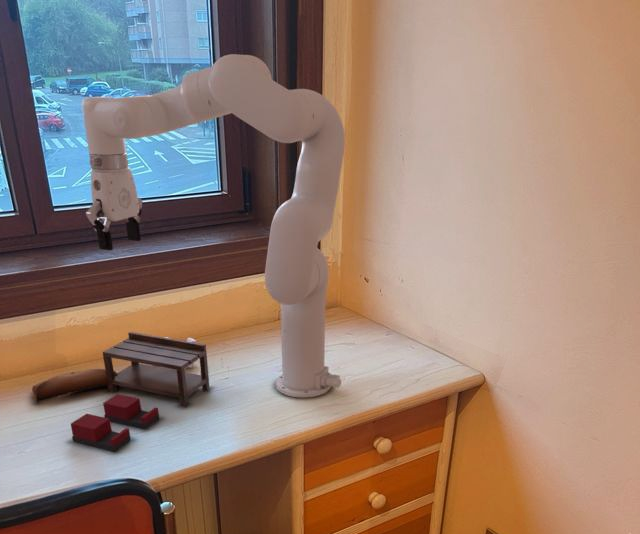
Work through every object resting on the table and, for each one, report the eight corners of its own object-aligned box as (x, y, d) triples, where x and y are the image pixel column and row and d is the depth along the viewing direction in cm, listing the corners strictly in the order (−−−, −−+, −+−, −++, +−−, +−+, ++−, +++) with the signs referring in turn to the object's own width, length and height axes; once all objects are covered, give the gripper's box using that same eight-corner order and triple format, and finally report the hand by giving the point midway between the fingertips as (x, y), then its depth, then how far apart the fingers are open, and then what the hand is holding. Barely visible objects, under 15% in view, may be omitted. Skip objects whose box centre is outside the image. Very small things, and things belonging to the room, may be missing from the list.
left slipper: (131, 440, 124) (128, 422, 122) (115, 452, 120) (112, 433, 118) (89, 430, 128) (86, 412, 126) (72, 441, 124) (69, 423, 122)
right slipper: (159, 419, 132) (157, 401, 130) (145, 429, 128) (143, 411, 126) (119, 410, 135) (116, 393, 133) (104, 420, 131) (101, 402, 129)
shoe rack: (209, 388, 145) (205, 344, 140) (185, 407, 137) (180, 361, 131) (136, 374, 151) (130, 331, 146) (109, 391, 143) (101, 346, 138)
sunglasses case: (110, 370, 151) (111, 353, 146) (120, 395, 148) (121, 378, 143) (29, 387, 143) (27, 369, 137) (38, 413, 140) (36, 396, 135)
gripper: (95, 168, 127) (108, 255, 135) (149, 159, 141) (157, 238, 149) (66, 166, 129) (80, 251, 138) (121, 157, 143) (131, 235, 152)
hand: (120, 244), depth 143 cm, fingers open, 9 cm apart
